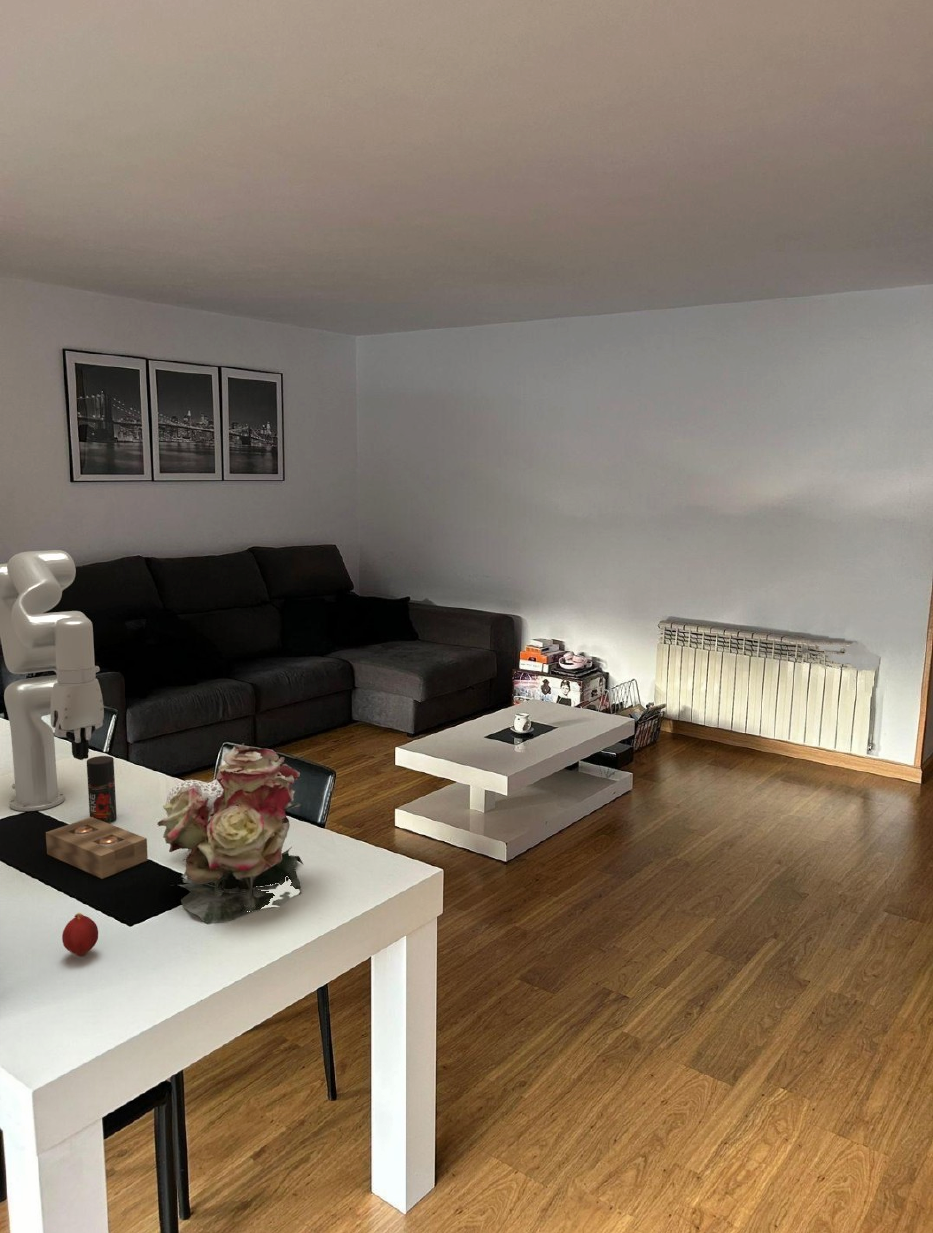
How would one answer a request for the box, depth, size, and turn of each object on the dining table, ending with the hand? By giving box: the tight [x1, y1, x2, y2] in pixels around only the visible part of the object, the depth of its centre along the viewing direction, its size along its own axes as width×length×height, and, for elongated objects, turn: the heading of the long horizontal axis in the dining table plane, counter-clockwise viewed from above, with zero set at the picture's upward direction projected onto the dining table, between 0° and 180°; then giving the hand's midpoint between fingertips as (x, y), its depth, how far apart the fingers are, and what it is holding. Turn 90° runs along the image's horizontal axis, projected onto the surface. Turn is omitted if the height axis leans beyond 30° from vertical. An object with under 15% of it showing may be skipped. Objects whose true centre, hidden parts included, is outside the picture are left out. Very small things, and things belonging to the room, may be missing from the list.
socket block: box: [45, 816, 149, 880], centre depth 199 cm, size 20×11×5 cm, turn 55°
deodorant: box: [86, 755, 118, 824], centre depth 218 cm, size 6×6×15 cm
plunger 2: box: [99, 836, 118, 847], centre depth 196 cm, size 4×4×5 cm
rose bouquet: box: [157, 743, 304, 925], centre depth 182 cm, size 26×29×30 cm
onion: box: [61, 912, 99, 957], centre depth 160 cm, size 6×6×8 cm
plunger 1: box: [75, 826, 93, 836], centre depth 201 cm, size 4×4×5 cm
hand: (80, 757), depth 199 cm, fingers closed
